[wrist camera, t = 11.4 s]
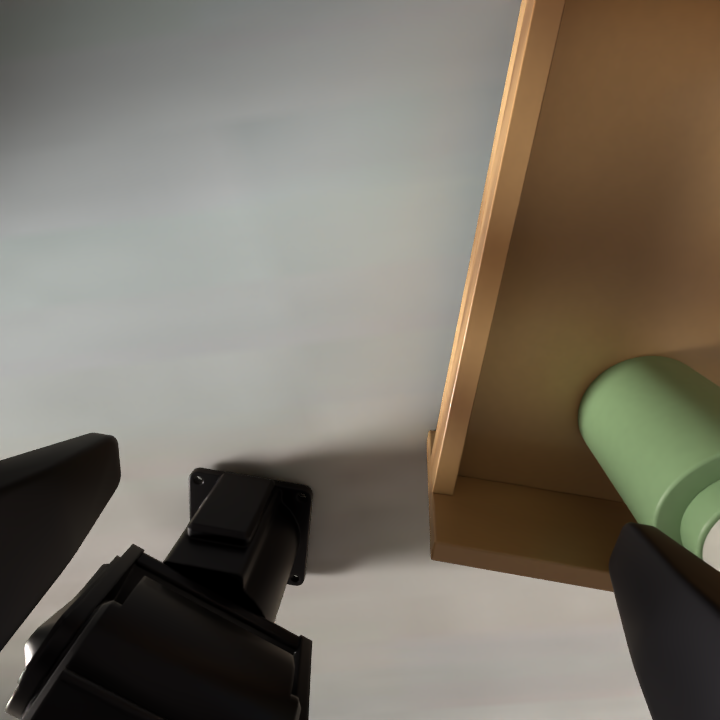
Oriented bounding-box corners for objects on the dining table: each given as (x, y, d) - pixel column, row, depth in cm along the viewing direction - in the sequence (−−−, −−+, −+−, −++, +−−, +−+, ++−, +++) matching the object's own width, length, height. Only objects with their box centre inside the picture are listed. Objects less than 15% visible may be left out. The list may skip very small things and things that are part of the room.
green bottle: (680, 471, 18) (881, 691, 10) (562, 452, 18) (671, 652, 10) (727, 364, 16) (1010, 529, 8) (597, 346, 16) (756, 489, 9)
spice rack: (726, 491, 21) (875, 639, 14) (426, 443, 22) (430, 560, 15) (963, 10, 15) (1460, -148, 8) (517, -30, 16) (598, -204, 9)
